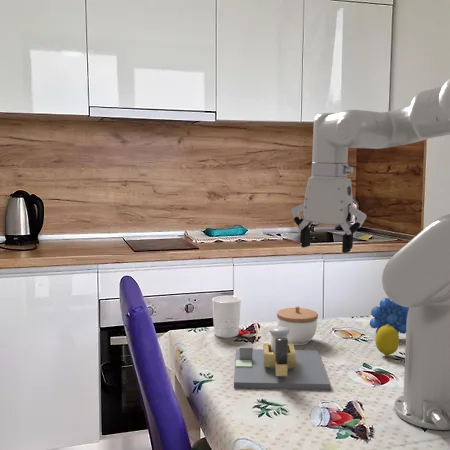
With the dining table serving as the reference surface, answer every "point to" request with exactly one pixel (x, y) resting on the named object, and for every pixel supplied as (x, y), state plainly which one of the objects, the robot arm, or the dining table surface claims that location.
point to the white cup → (226, 315)
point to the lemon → (387, 340)
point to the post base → (265, 376)
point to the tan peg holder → (280, 356)
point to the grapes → (389, 316)
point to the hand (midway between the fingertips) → (325, 249)
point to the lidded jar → (298, 324)
